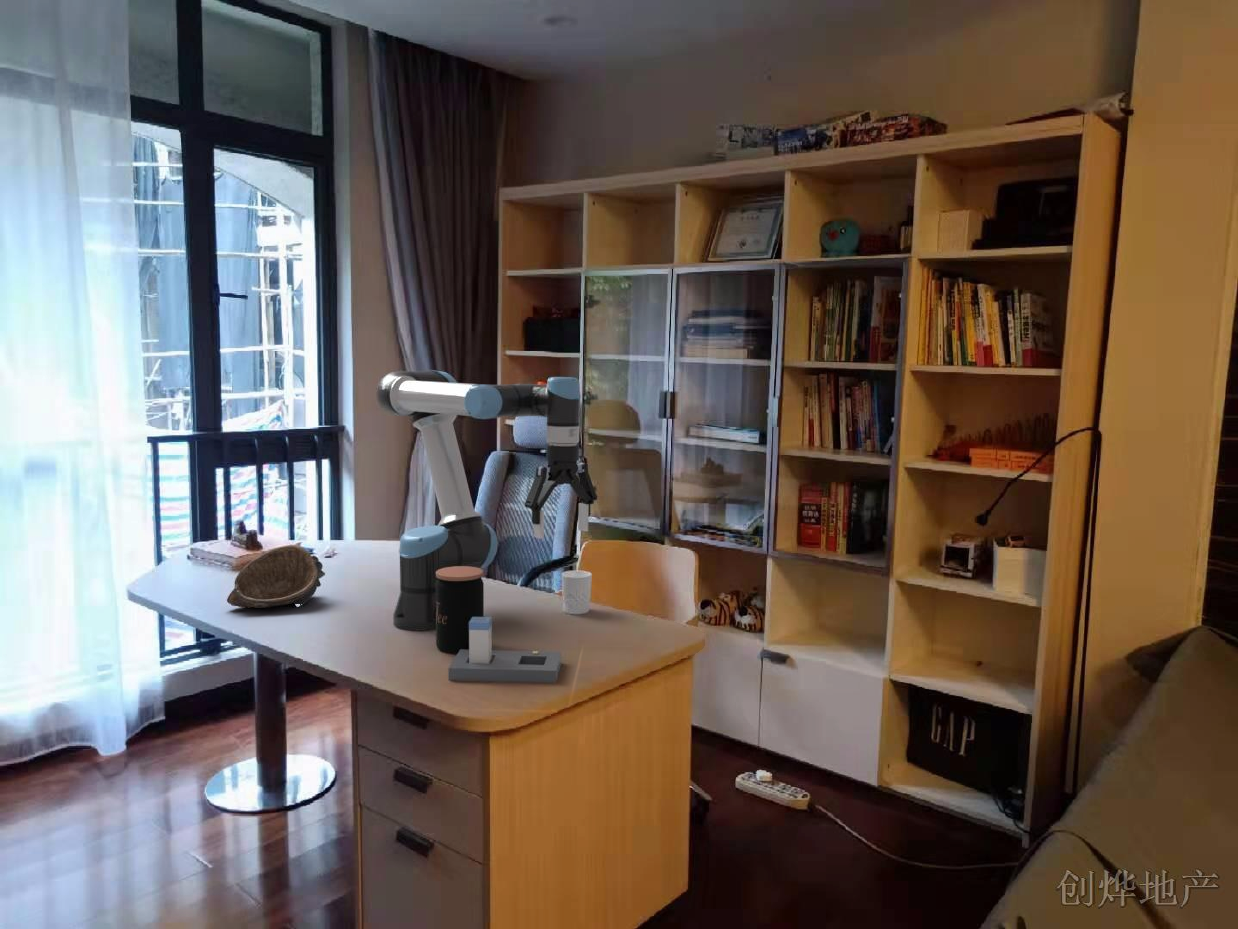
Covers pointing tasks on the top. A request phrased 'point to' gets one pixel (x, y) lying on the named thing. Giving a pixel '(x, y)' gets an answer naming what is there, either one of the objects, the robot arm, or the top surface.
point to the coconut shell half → (277, 579)
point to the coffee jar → (457, 605)
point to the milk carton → (480, 640)
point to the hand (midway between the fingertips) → (561, 534)
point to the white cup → (576, 591)
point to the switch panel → (508, 667)
